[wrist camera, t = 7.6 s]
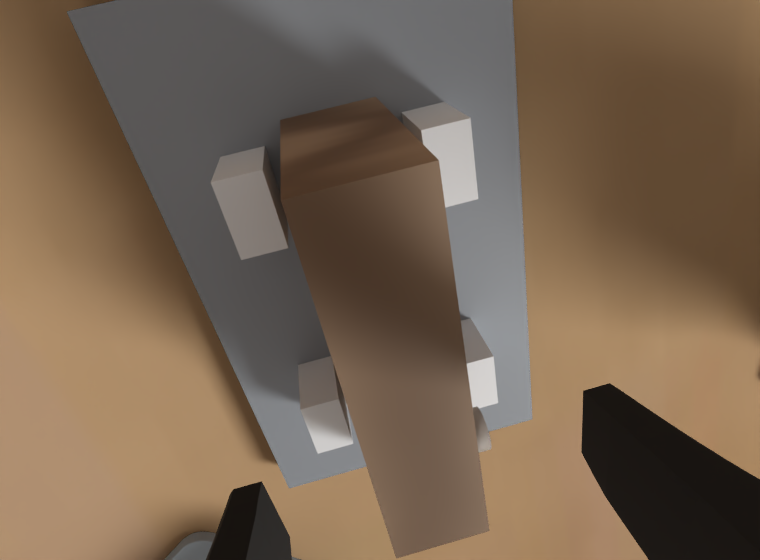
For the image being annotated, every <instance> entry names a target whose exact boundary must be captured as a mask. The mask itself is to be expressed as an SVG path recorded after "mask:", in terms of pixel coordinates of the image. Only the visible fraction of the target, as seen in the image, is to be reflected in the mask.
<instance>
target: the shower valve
mask: <svg viewBox="0 0 760 560" xmlns="http://www.w3.org/2000/svg"><path fill="white" fill-rule="evenodd" d="M215 535H216V533H212V532H196V533H193V534H190V535H189V536H187V537H185V538H184V539H183V540H182V541H181V542H180V543H179V544H178V545H177V546H176V547H175V549H174V550H173V551H172V552H171V553H170V554H169V555H168V556H167V557H166V558H165V559H164V560H206V558H207V555H208V553H209V550H210V548H211V545H212V543H213V540H214V537H215ZM292 560H301V559H297V558H294V557H292Z"/></svg>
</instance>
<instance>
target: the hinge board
mask: <svg viewBox="0 0 760 560" xmlns="http://www.w3.org/2000/svg"><path fill="white" fill-rule="evenodd" d="M67 14H68V16H69V18H70V20H71V22H72V24H73V26H74V29H75V31H76V33H77V35H78V37H79V39H80V41H81V44H82V46H83V48H84V50H85V52H86V54H87V56H88V59H89V61H90V63H91V65H92V67H93V69H94V71H95V74H96V76H97V78H98V80H99V82H100V84H101V86H102V89H103V91H104V93H105V95H106V97H107V99H108V101H109V103H110V106H111V108H112V110H113V112H114V114H115V116H116V118H117V121H118V123H119V125H120V127H121V129H122V131H123V133H124V136H125V138H126V140H127V142H128V144H129V146H130V148H131V151H132V153H133V155H134V157H135V159H136V161H137V163H138V166H139V168H140V170H141V172H142V174H143V176H144V178H145V181H146V183H147V185H148V187H149V189H150V191H151V193H152V196H153V198H154V200H155V202H156V204H157V206H158V208H159V211H160V213H161V215H162V217H163V219H164V221H165V223H166V226H167V228H168V230H169V232H170V234H171V236H172V238H173V241H174V243H175V245H176V247H177V249H178V251H179V253H180V256H181V258H182V260H183V262H184V264H185V266H186V268H187V271H188V273H189V275H190V277H191V279H192V281H193V283H194V286H195V288H196V290H197V292H198V294H199V296H200V298H201V301H202V303H203V305H204V307H205V309H206V311H207V313H208V316H209V318H210V320H211V322H212V324H213V326H214V328H215V331H216V333H217V335H218V337H219V339H220V341H221V343H222V346H223V348H224V350H225V352H226V354H227V356H228V358H229V361H230V363H231V365H232V367H233V369H234V371H235V373H236V376H237V378H238V380H239V382H240V384H241V386H242V388H243V391H244V393H245V395H246V397H247V399H248V401H249V403H250V406H251V408H252V410H253V412H254V414H255V416H256V418H257V421H258V423H259V425H260V427H261V429H262V431H263V433H264V436H265V438H266V440H267V442H268V444H269V446H270V448H271V451H272V453H273V455H274V457H275V459H276V461H277V463H278V466H279V468H280V470H281V472H282V474H283V476H284V478H285V481H286V483H287V485H288V487H289V488H292V487H296V486H299V485H303V484H306V483H310V482H313V481H317V480H320V479H324V478H327V477H331V476H334V475H338V474H341V473H345V472H349V471H352V470H356V469H359V468H363V467H366V463H365V460H364V457H363V453H362V450H361V447H360V444H359V441H358V438H357V435H356V432H355V429H354V426H353V422H352V419H351V416H350V413H349V410H348V407H347V404H346V401H345V398H344V395H343V392H342V388H341V385H340V382H339V379H338V376H337V373H336V370H335V367H334V364H333V361H332V357H331V354H330V351H329V348H328V345H327V342H326V339H325V336H324V333H323V330H322V326H321V323H320V320H319V317H318V314H317V311H316V308H315V305H314V302H313V299H312V295H311V292H310V289H309V286H308V283H307V280H306V277H305V274H304V271H303V268H302V265H301V261H300V258H299V255H298V252H297V249H296V246H295V243H294V240H293V237H292V234H291V230H290V227H289V224H288V221H287V218H286V215H285V212H284V209H283V206H282V203H281V168H280V120H282V119H286V118H290V117H294V116H299V115H303V114H307V113H311V112H315V111H319V110H323V109H327V108H331V107H335V106H340V105H344V104H348V103H352V102H356V101H360V100H364V99H368V98H372V97H376V98H377V99H378V100H379V101H380V102H381V103H382V104H383V105H384V106H385V107H386V108H387V109H388V110H389V111H390V112H391V113H392V114H393V115H394V116H395V117H396V118H397V119H398V120H399V121H400V122H401V123H402V124H403V125H404V126H405V127H406V128H407V129H408V130H409V131H410V132H411V133H412V134H413V135H414V136H415V137H416V138H417V139H418V140H419V141H420V142H421V143H422V144H423V145H424V146H425V147H426V148H427V149H428V150H429V151H430V152H431V153H432V154H433V155H434V156H435V157H436V158H437V159H438V160H439V165H440V172H441V179H442V187H443V194H444V201H445V209H446V216H447V223H448V231H449V238H450V245H451V253H452V260H453V268H454V275H455V282H456V290H457V297H458V304H459V312H460V319H461V326H462V334H463V341H464V348H465V356H466V363H467V370H468V378H469V385H470V392H471V400H472V407H476V406H477V407H478V408H479V409H480V411H481V413H482V415H483V417H484V420H485V422H486V425H487V428H488V432H489V431H493V430H496V429H500V428H503V427H507V426H510V425H514V424H517V423H521V422H524V421H528V420H531V419H532V402H531V381H530V360H529V339H528V318H527V297H526V276H525V255H524V234H523V213H522V192H521V171H520V150H519V129H518V108H517V87H516V65H515V44H514V23H513V2H512V0H115V1H111V2H106V3H102V4H97V5H93V6H89V7H84V8H80V9H75V10H71V11H67Z"/></svg>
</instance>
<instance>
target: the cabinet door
mask: <svg viewBox="0 0 760 560" xmlns="http://www.w3.org/2000/svg"><path fill="white" fill-rule="evenodd" d="M280 168H281V203H282V206H283V209H284V212H285V215H286V218H287V221H288V224H289V227H290V230H291V234H292V237H293V240H294V243H295V246H296V249H297V252H298V255H299V258H300V261H301V265H302V268H303V271H304V274H305V277H306V280H307V283H308V286H309V289H310V292H311V295H312V299H313V302H314V305H315V308H316V311H317V314H318V317H319V320H320V323H321V326H322V330H323V333H324V336H325V339H326V342H327V345H328V348H329V351H330V354H331V357H332V361H333V364H334V367H335V370H336V373H337V376H338V379H339V382H340V385H341V388H342V392H343V395H344V398H345V401H346V404H347V407H348V410H349V413H350V416H351V419H352V422H353V426H354V429H355V432H356V435H357V438H358V441H359V444H360V447H361V450H362V453H363V457H364V460H365V463H366V466H367V469H368V472H369V475H370V478H371V481H372V484H373V488H374V491H375V494H376V497H377V500H378V503H379V506H380V509H381V512H382V515H383V519H384V522H385V525H386V528H387V531H388V534H389V537H390V540H391V543H392V546H393V549H394V553H395V556H396V558H399V557H403V556H406V555H410V554H413V553H416V552H420V551H423V550H427V549H430V548H433V547H437V546H440V545H443V544H447V543H450V542H454V541H457V540H460V539H464V538H467V537H471V536H474V535H477V534H481V533H484V532H487V531H489V525H488V517H487V510H486V503H485V495H484V488H483V481H482V473H481V466H480V459H479V452H483V451H486V450H490V449H491V440H490V435H489V432H488V428H487V425H486V422H485V420H484V417H483V415H482V413H481V411H480V409H479V408H478V407H477V406H476V407H472V400H471V392H470V385H469V378H468V370H467V363H466V356H465V348H464V341H463V334H462V326H461V319H460V312H459V304H458V297H457V290H456V282H455V275H454V268H453V260H452V253H451V245H450V238H449V231H448V223H447V216H446V209H445V201H444V194H443V187H442V179H441V172H440V165H439V160H438V159H437V158H436V157H435V156H434V155H433V154H432V153H431V152H430V151H429V150H428V149H427V148H426V147H425V146H424V145H423V144H422V143H421V142H420V141H419V140H418V139H417V138H416V137H415V136H414V135H413V134H412V133H411V132H410V131H409V130H408V129H407V128H406V127H405V126H404V125H403V124H402V123H401V122H400V121H399V120H398V119H397V118H396V117H395V116H394V115H393V114H392V113H391V112H390V111H389V110H388V109H387V108H386V107H385V106H384V105H383V104H382V103H381V102H380V101H379V100H378V99H377V98H376V97H372V98H368V99H364V100H360V101H356V102H352V103H348V104H344V105H340V106H335V107H331V108H327V109H323V110H319V111H315V112H311V113H307V114H303V115H299V116H294V117H290V118H286V119H282V120H280Z"/></svg>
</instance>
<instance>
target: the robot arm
mask: <svg viewBox="0 0 760 560" xmlns="http://www.w3.org/2000/svg"><path fill="white" fill-rule="evenodd" d="M582 454H583V456H584V458H585V460H586V462H587V463H588V465H589V467H590V469H591V471H592V473H593V475H594V477H595V479H596V480H597V482H598V484H599V486H600V488H601V489H602V491H603V493H604V495H605V497H606V498H607V500H608V501H609V502H610V504H611V505H612V507H613V508H614V510H615V511H616V513H617V514H618V516H619V517H620V519H621V520H622V522H623V523H624V524H625V526H626V527H627V529H628V530H629V532H630V533H631V535H632V536H633V537H634V539H635V540H636V542H637V543H638V545H639V546H640V548H641V549H642V550H643V552H644V553H645V555H646V556H647V558H648V559H649V560H760V479H758V478H756V477H755V476H753V475H751V474H749V473H748V472H746V471H744V470H743V469H741V468H739V467H738V466H736V465H734V464H733V463H731V462H729V461H728V460H726V459H724V458H723V457H721V456H720V455H718V454H716V453H715V452H713V451H712V450H710V449H708V448H707V447H705V446H704V445H702V444H700V443H699V442H697V441H696V440H694V439H693V438H691V437H689V436H688V435H686V434H685V433H683V432H682V431H680V430H679V429H677V428H676V427H674V426H673V425H671V424H670V423H668V422H667V421H665V420H664V419H662V418H661V417H659V416H658V415H656V414H655V413H653V412H652V411H650V410H649V409H647V408H646V407H644V406H643V405H641V404H640V403H638V402H637V401H635V400H634V399H632V398H631V397H630V396H628V395H627V394H625V393H624V392H622V391H621V390H619V389H618V388H616V387H615V386H613V385H611V384H610V383H609V384H606V385H602V386H599V387H595V388H592V389H588V390H585V391H583V423H582ZM206 560H292V556H291V545H290V536H289V534H288V532H287V530H286V528H285V526H284V524H283V522H282V520H281V518H280V517H279V515H278V513H277V511H276V509H275V507H274V505H273V503H272V501H271V499H270V497H269V495H268V493H267V491H266V489H265V487H264V485H263V483H262V481H261V482H258V483H254V484H251V485H247V486H244V487H240V488H237V489H234V490H233V491H232V492H231V494H230V496H229V499H228V502H227V505H226V508H225V510H224V513H223V516H222V519H221V521H220V524H219V527H218V529H217V532H216V535H215V537H214V540H213V543H212V545H211V548H210V550H209V553H208V555H207V558H206Z"/></svg>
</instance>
